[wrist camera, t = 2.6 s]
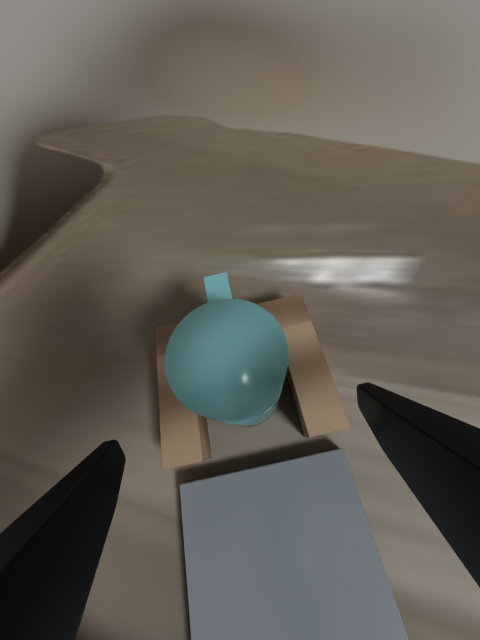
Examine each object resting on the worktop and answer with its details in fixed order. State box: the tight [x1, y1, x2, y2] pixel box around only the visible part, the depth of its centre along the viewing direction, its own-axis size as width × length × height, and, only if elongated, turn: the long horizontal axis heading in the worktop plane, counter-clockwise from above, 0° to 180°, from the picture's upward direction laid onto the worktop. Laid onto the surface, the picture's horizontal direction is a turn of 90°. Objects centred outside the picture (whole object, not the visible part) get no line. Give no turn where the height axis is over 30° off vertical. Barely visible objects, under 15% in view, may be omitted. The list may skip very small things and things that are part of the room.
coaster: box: [180, 448, 409, 640], centre depth 14 cm, size 11×11×1 cm
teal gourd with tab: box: [165, 272, 289, 427], centre depth 15 cm, size 8×5×10 cm, turn 11°
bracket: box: [155, 294, 350, 470], centre depth 18 cm, size 10×12×2 cm
